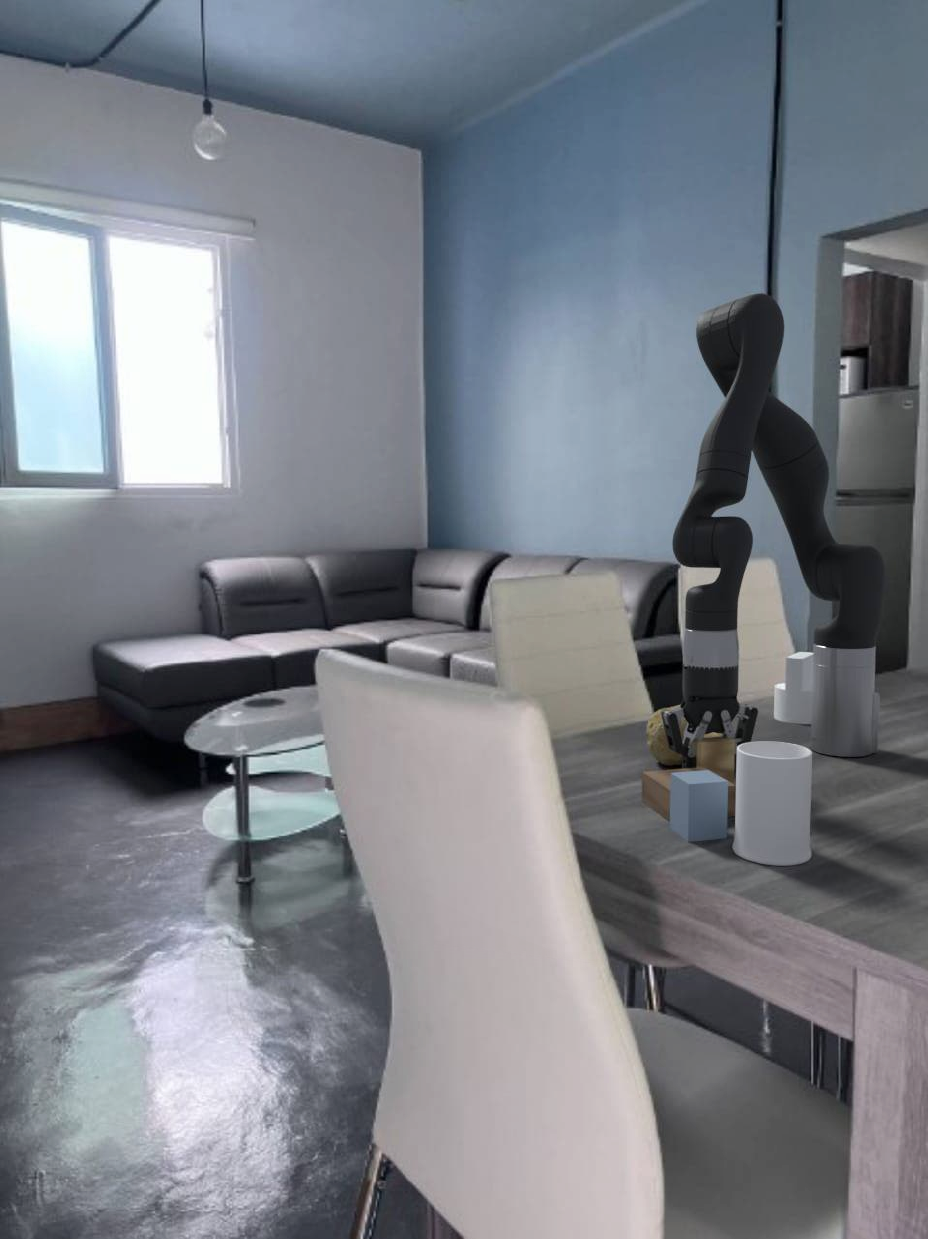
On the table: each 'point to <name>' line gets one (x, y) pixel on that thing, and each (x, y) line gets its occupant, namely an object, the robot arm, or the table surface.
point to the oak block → (716, 755)
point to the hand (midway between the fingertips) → (708, 779)
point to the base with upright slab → (795, 690)
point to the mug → (773, 803)
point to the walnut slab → (659, 791)
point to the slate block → (698, 805)
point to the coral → (663, 739)
